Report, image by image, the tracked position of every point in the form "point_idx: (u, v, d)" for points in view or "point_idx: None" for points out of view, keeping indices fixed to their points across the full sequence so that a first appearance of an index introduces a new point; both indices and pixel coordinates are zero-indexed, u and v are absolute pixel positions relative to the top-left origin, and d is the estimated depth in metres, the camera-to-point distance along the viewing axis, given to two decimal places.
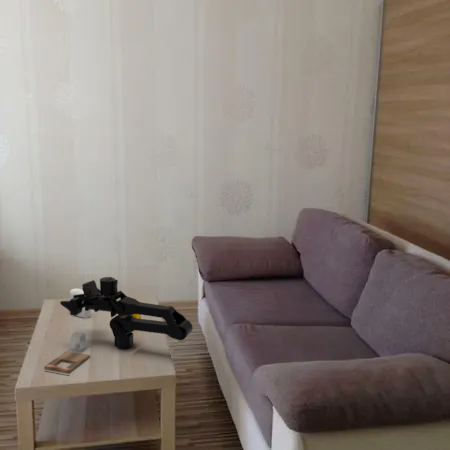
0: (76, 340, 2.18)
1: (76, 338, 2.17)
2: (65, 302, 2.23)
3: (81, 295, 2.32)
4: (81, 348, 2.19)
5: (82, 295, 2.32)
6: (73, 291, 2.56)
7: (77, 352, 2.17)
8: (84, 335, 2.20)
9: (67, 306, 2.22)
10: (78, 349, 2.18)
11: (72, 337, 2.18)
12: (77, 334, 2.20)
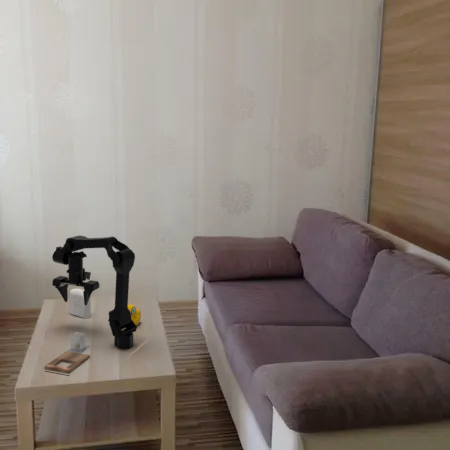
0: (76, 340, 2.18)
1: (76, 338, 2.17)
2: None
3: None
4: (81, 348, 2.19)
5: None
6: (73, 291, 2.56)
7: (77, 352, 2.17)
8: (84, 335, 2.20)
9: None
10: (78, 349, 2.18)
11: (72, 337, 2.18)
12: (77, 334, 2.20)
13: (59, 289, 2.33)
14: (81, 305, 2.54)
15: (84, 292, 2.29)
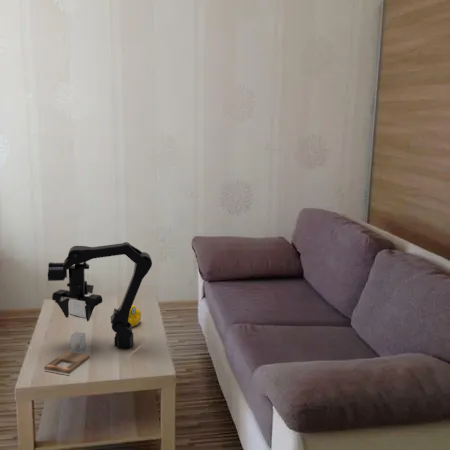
0: (76, 340, 2.18)
1: (76, 338, 2.17)
2: None
3: None
4: (81, 348, 2.19)
5: None
6: None
7: (77, 352, 2.17)
8: (84, 335, 2.20)
9: None
10: (78, 349, 2.18)
11: (72, 337, 2.18)
12: (77, 334, 2.20)
13: (59, 304, 2.17)
14: (81, 305, 2.54)
15: (86, 307, 2.13)
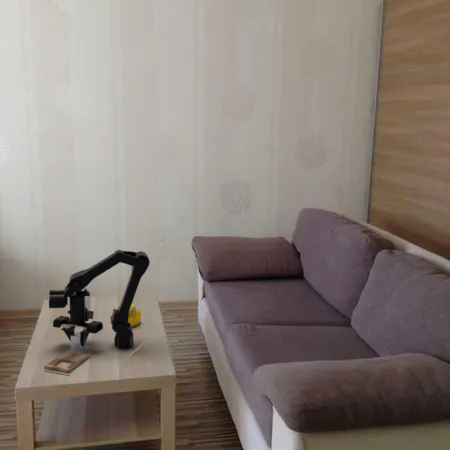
0: (76, 340, 2.18)
1: (76, 338, 2.17)
2: None
3: None
4: (81, 348, 2.19)
5: None
6: None
7: (77, 352, 2.17)
8: None
9: None
10: (78, 349, 2.18)
11: (72, 337, 2.18)
12: (77, 334, 2.20)
13: (66, 331, 2.17)
14: None
15: (81, 333, 2.15)
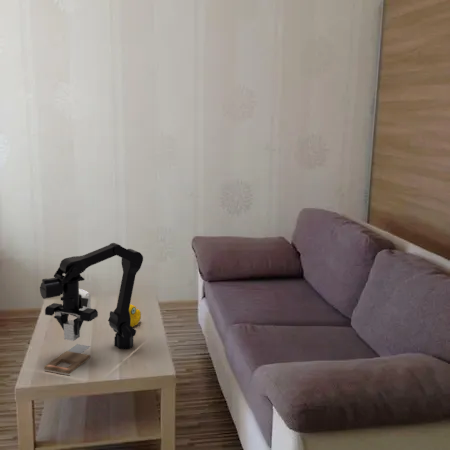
0: (70, 328, 2.07)
1: (70, 326, 2.06)
2: None
3: None
4: (75, 337, 2.08)
5: None
6: None
7: (77, 352, 2.17)
8: None
9: None
10: (71, 338, 2.07)
11: (65, 325, 2.07)
12: (71, 322, 2.09)
13: (58, 319, 2.06)
14: None
15: (74, 321, 2.04)
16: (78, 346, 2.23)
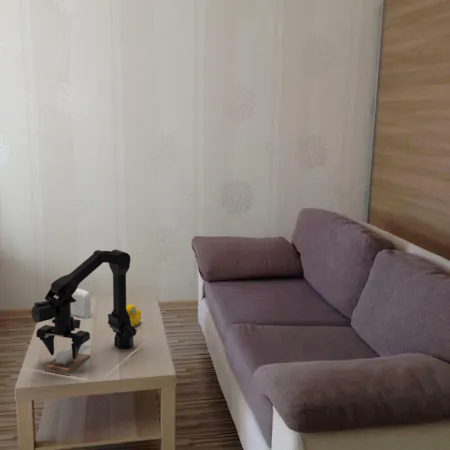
0: (62, 359, 2.03)
1: (61, 357, 2.03)
2: None
3: None
4: None
5: None
6: None
7: None
8: (70, 354, 2.06)
9: None
10: None
11: (57, 356, 2.04)
12: (63, 352, 2.05)
13: (44, 341, 2.03)
14: (81, 305, 2.54)
15: (72, 345, 2.00)
16: None
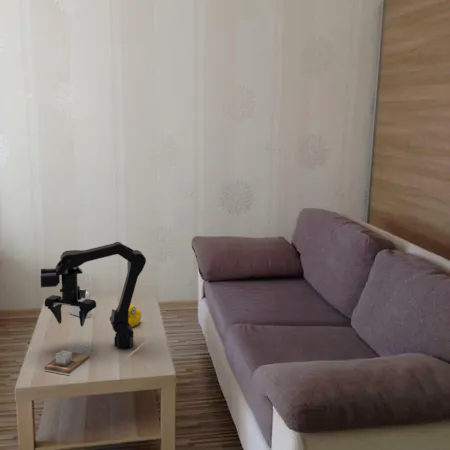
0: (62, 359, 2.03)
1: (62, 357, 2.03)
2: None
3: None
4: None
5: None
6: None
7: (77, 352, 2.17)
8: (70, 354, 2.06)
9: None
10: None
11: (57, 356, 2.04)
12: (63, 352, 2.05)
13: (52, 310, 2.14)
14: None
15: (80, 313, 2.11)
16: (78, 346, 2.23)
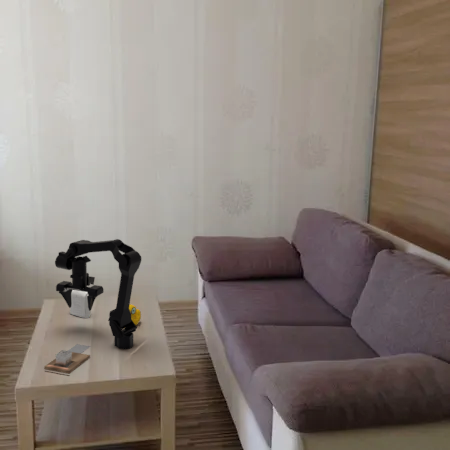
0: (62, 359, 2.03)
1: (61, 357, 2.03)
2: None
3: None
4: None
5: None
6: (73, 291, 2.56)
7: (77, 352, 2.17)
8: (70, 354, 2.06)
9: None
10: None
11: (57, 356, 2.04)
12: (63, 352, 2.05)
13: (63, 294, 2.30)
14: (81, 305, 2.54)
15: (88, 297, 2.27)
16: (78, 346, 2.23)
